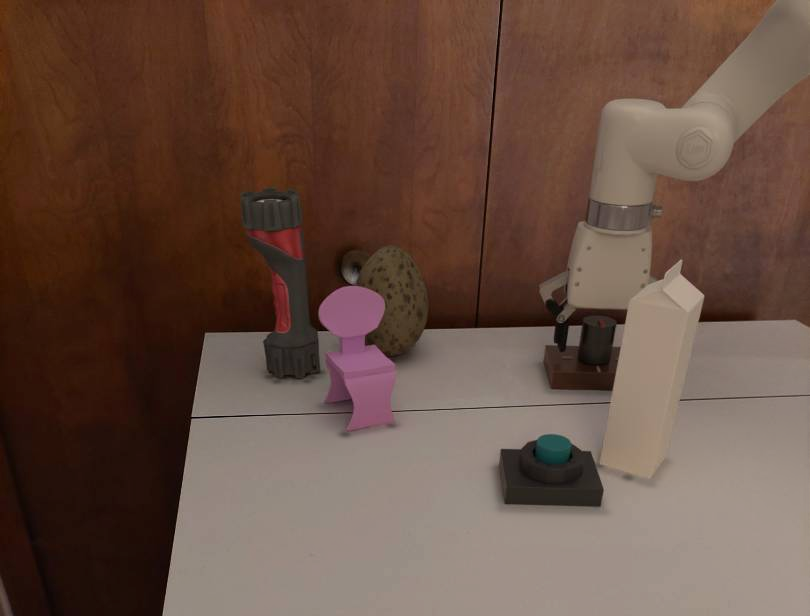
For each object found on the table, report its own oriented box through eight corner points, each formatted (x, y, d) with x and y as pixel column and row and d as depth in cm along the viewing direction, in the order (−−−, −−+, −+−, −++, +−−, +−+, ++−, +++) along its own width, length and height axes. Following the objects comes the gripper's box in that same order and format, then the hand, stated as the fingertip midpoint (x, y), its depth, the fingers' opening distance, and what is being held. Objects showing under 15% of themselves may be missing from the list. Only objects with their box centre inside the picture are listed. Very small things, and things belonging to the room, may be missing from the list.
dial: (574, 351, 110) (580, 312, 107) (606, 352, 110) (613, 313, 107) (580, 364, 107) (586, 324, 104) (613, 365, 107) (620, 325, 104)
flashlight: (245, 369, 110) (226, 191, 96) (291, 355, 114) (279, 182, 101) (278, 388, 105) (263, 203, 92) (325, 372, 109) (317, 194, 96)
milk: (666, 457, 92) (714, 263, 79) (649, 480, 88) (698, 279, 75) (615, 442, 95) (654, 252, 82) (597, 464, 91) (635, 267, 78)
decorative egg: (441, 353, 115) (447, 247, 107) (389, 375, 109) (390, 263, 100) (388, 333, 121) (389, 230, 113) (336, 352, 115) (332, 245, 106)
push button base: (587, 468, 90) (593, 436, 88) (600, 507, 83) (606, 474, 81) (498, 465, 90) (502, 434, 88) (504, 504, 83) (508, 471, 81)
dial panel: (627, 363, 114) (631, 345, 112) (641, 391, 106) (645, 372, 105) (543, 361, 114) (545, 343, 112) (551, 388, 106) (553, 370, 105)
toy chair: (340, 434, 95) (336, 311, 86) (316, 403, 102) (310, 286, 93) (404, 422, 98) (406, 301, 89) (376, 393, 104) (376, 278, 96)
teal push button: (566, 448, 86) (568, 434, 85) (571, 465, 83) (573, 451, 82) (533, 447, 86) (535, 433, 85) (536, 464, 83) (538, 450, 82)
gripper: (681, 209, 101) (653, 340, 111) (543, 205, 101) (528, 336, 111) (697, 224, 95) (666, 362, 105) (550, 221, 95) (533, 358, 105)
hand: (595, 348), depth 108 cm, fingers open, 8 cm apart
